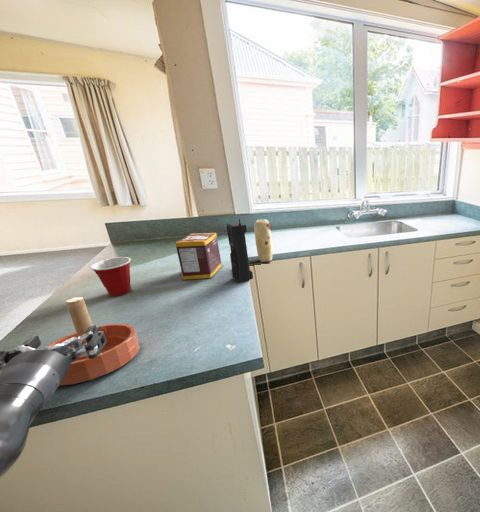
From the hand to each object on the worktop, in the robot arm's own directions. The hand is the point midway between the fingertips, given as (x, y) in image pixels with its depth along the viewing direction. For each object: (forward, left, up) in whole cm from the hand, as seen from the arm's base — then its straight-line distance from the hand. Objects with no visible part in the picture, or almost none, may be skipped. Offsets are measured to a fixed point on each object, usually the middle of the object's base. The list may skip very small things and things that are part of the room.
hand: (66, 334), depth 60 cm
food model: (+47, +69, -13) cm, 84 cm away
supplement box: (+21, +64, -13) cm, 69 cm away
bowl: (0, +8, -12) cm, 15 cm away
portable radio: (+35, +49, -13) cm, 61 cm away
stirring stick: (0, +8, -12) cm, 14 cm away
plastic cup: (-5, +54, -13) cm, 56 cm away
